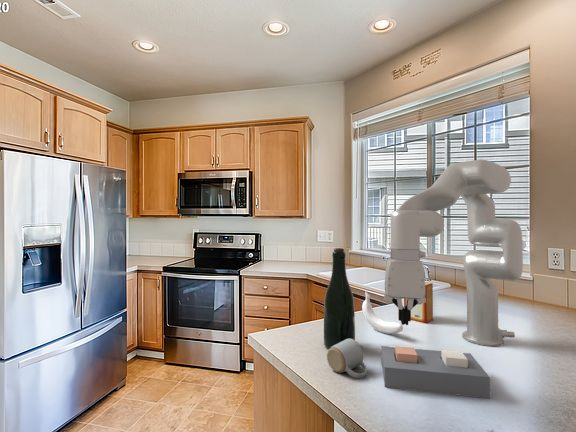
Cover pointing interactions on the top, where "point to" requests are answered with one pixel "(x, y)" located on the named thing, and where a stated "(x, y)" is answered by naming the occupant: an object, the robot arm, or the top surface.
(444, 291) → the top surface
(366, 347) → the top surface
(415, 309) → the baking soda box
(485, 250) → the robot arm
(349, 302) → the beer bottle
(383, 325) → the banana
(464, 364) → the white key
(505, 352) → the top surface
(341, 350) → the ceramic mug
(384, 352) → the key panel
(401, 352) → the light orange cube
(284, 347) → the top surface
